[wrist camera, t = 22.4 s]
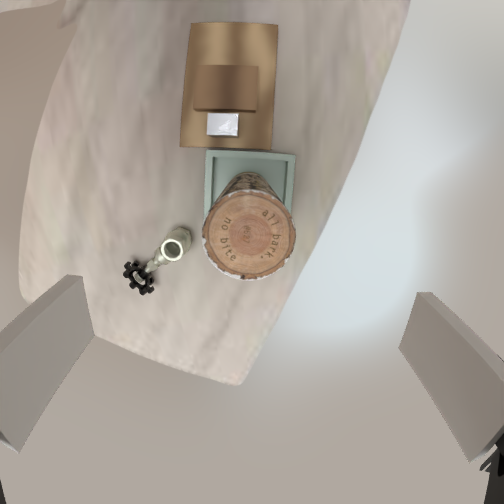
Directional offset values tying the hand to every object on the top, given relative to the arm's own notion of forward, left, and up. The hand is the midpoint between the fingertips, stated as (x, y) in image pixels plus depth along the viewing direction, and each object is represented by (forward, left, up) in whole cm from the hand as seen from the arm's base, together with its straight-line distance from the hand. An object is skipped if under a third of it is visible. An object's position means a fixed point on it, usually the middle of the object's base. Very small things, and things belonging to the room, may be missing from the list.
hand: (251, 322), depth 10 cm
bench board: (-4, +18, -37) cm, 41 cm away
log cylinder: (0, 0, -36) cm, 36 cm away
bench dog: (-4, +10, -36) cm, 37 cm away
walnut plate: (-4, +16, -36) cm, 40 cm away
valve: (-14, -11, -37) cm, 41 cm away
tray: (0, 0, -37) cm, 37 cm away
